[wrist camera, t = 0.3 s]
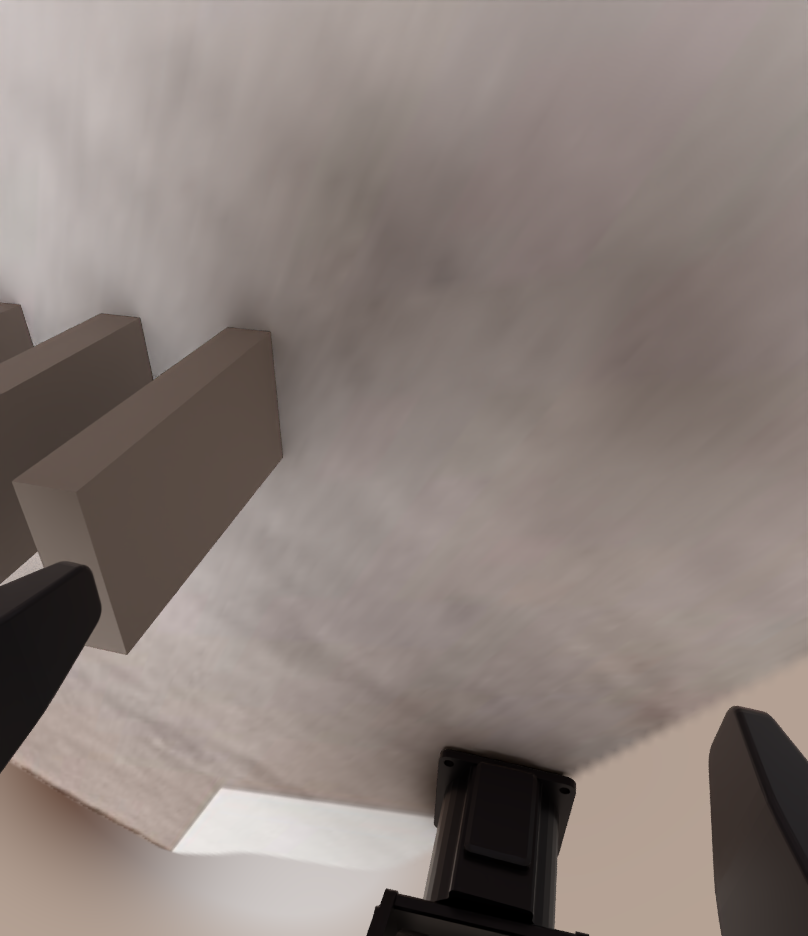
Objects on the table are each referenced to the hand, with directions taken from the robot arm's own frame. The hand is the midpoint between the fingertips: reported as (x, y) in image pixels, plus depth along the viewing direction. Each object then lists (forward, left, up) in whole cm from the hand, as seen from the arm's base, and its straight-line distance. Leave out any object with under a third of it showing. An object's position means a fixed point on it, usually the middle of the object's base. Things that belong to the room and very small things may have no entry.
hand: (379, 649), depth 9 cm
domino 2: (-3, +8, -13) cm, 16 cm away
